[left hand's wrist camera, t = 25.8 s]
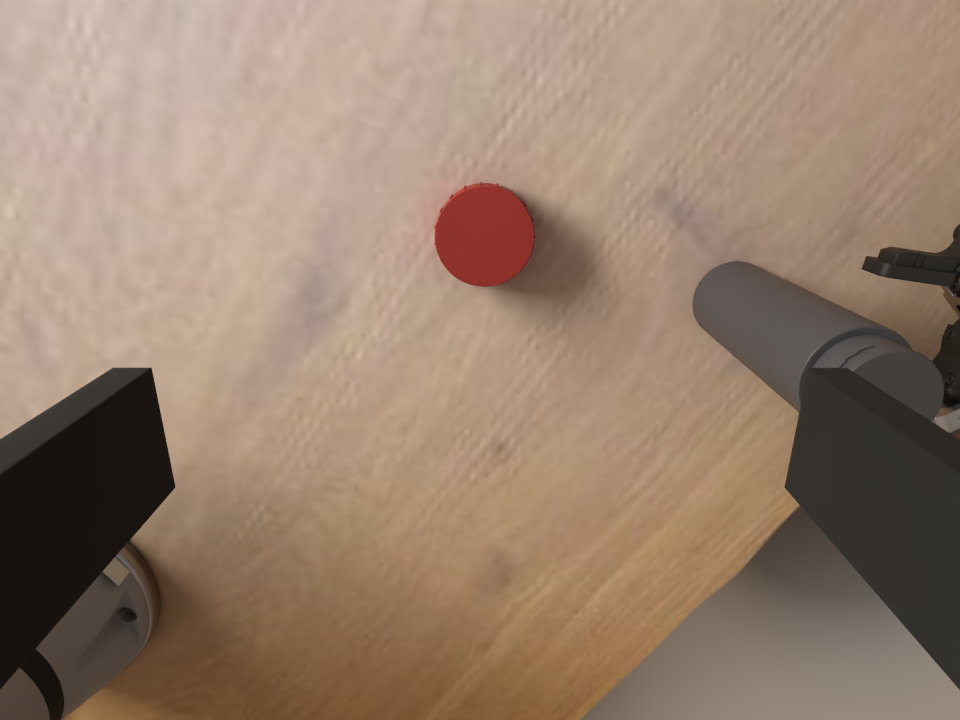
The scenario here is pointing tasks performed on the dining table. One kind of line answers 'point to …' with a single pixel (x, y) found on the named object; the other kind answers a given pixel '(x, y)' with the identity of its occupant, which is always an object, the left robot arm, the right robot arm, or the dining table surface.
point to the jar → (808, 337)
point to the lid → (484, 235)
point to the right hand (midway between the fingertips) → (844, 341)
